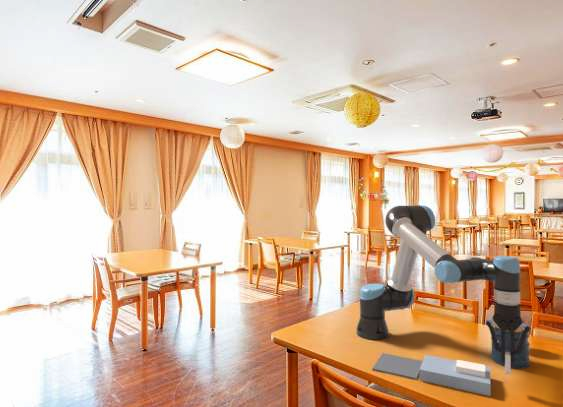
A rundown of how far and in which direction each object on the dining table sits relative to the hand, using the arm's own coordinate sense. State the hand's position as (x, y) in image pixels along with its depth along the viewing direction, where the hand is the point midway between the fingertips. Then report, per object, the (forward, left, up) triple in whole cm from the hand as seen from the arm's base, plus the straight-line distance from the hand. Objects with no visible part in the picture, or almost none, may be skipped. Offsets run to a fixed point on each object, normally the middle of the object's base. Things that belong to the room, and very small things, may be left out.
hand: (507, 372), depth 122 cm
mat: (-36, +1, -6) cm, 37 cm away
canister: (+2, +26, -6) cm, 27 cm away
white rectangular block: (-11, 0, -2) cm, 11 cm away
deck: (-16, 0, -6) cm, 17 cm away
